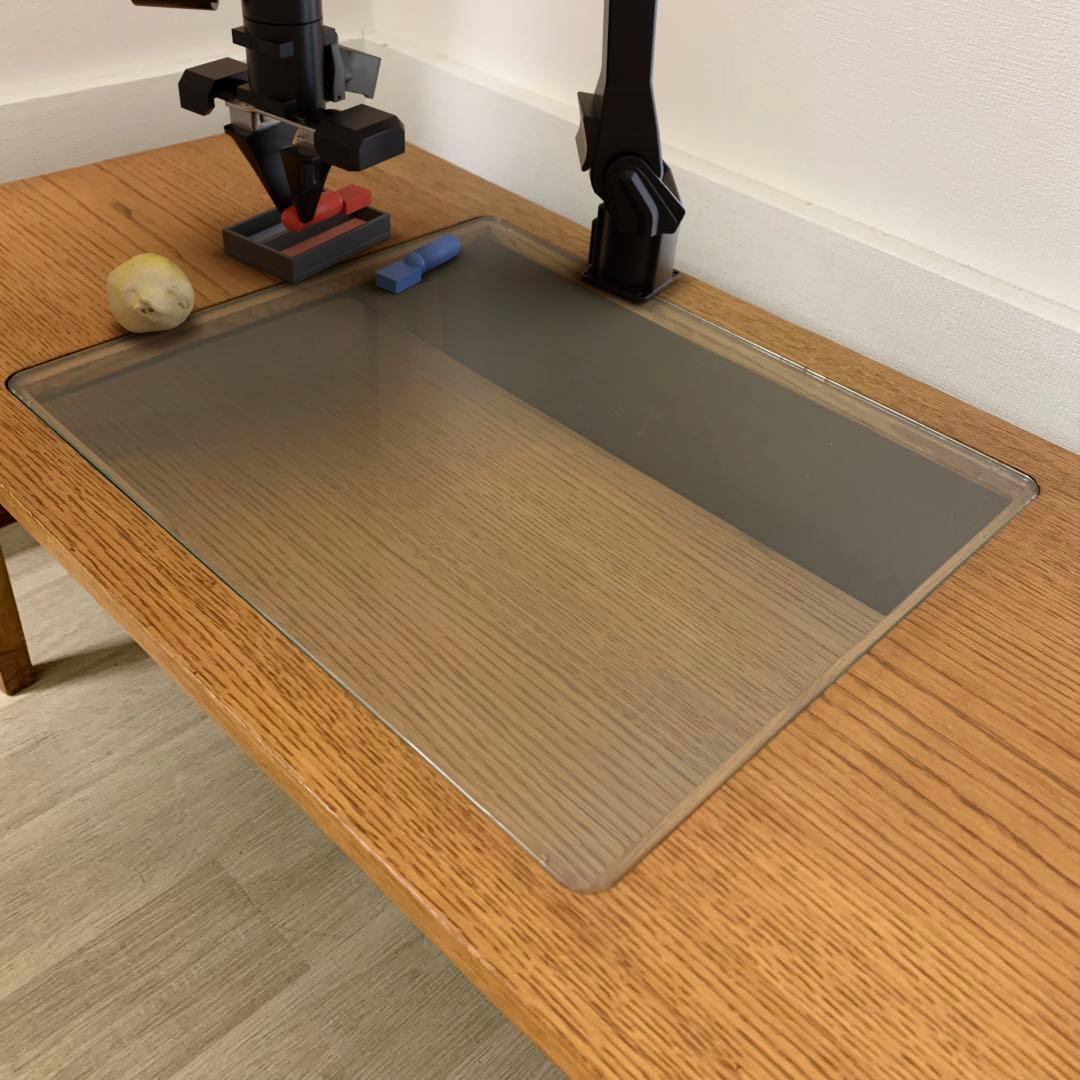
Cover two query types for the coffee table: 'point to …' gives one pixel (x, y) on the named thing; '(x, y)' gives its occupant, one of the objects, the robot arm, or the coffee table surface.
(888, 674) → the coffee table surface
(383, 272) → the blue block-ended handle
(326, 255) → the tray
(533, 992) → the coffee table surface
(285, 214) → the red capsule-ended rod
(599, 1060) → the coffee table surface
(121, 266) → the fruit
